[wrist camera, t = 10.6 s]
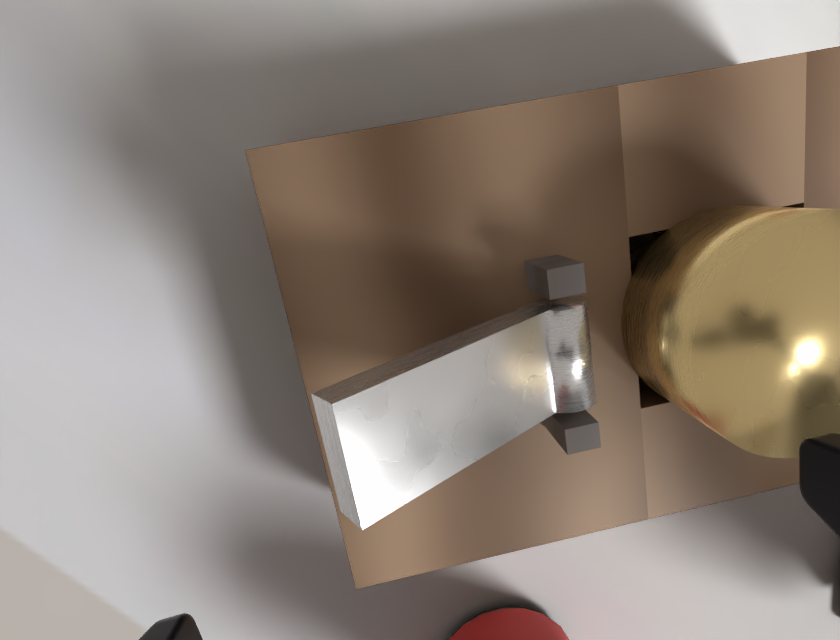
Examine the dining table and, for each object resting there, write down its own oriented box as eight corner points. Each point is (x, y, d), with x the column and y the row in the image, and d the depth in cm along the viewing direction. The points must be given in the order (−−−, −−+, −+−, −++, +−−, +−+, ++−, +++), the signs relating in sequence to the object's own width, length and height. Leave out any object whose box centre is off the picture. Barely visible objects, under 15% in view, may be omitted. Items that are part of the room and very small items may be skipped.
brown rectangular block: (749, 77, 20) (947, 19, 13) (752, 411, 23) (908, 498, 17) (274, 160, 18) (229, 144, 12) (356, 501, 22) (356, 634, 15)
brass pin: (551, 217, 20) (687, 236, 12) (706, 188, 20) (942, 186, 12) (567, 371, 22) (697, 481, 13) (711, 340, 22) (921, 429, 14)
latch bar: (552, 294, 16) (598, 298, 14) (562, 385, 16) (607, 396, 15) (311, 392, 11) (346, 411, 10) (340, 511, 12) (376, 542, 11)
